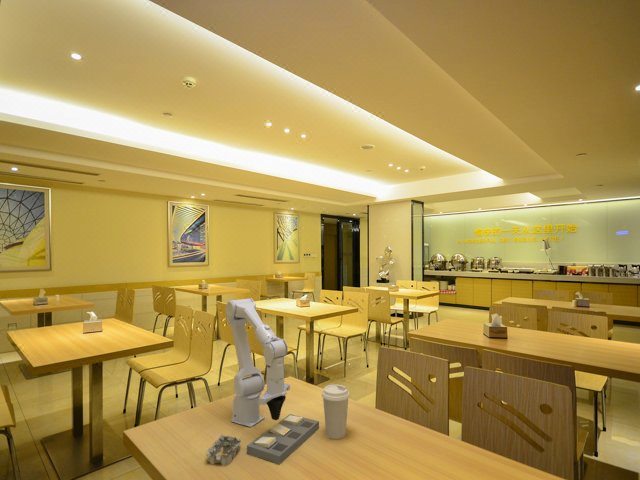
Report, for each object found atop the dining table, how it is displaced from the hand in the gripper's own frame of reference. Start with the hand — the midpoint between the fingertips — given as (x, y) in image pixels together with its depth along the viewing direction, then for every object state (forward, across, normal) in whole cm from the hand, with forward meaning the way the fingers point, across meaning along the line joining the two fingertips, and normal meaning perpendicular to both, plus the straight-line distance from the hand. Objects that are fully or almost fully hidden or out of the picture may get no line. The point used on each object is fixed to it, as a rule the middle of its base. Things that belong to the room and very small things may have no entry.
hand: (275, 419), depth 117 cm
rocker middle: (+3, 0, -2) cm, 4 cm away
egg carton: (+6, -16, +8) cm, 19 cm away
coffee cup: (+6, +11, -17) cm, 21 cm away
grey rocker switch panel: (+6, 0, -4) cm, 7 cm away
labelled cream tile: (+3, +8, -2) cm, 9 cm away
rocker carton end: (+3, -8, -2) cm, 9 cm away
